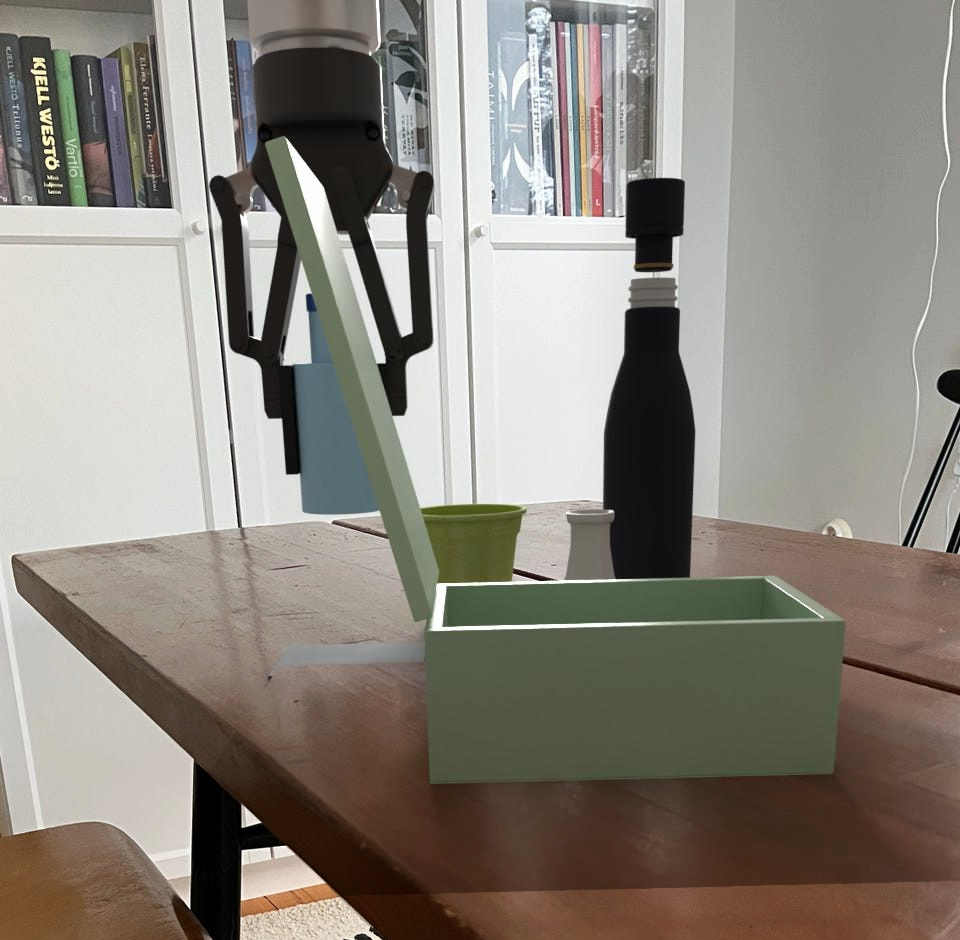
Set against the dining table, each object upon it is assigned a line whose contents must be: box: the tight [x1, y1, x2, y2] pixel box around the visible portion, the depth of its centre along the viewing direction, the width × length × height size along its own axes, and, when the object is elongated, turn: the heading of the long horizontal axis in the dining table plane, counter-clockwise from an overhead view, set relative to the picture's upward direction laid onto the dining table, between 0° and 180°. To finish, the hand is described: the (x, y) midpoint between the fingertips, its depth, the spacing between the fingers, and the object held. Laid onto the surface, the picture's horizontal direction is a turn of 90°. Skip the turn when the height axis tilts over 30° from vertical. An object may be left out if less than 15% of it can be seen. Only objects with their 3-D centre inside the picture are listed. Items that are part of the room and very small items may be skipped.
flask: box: [562, 508, 616, 581], centre depth 82 cm, size 7×7×10 cm
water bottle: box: [291, 292, 380, 516], centre depth 80 cm, size 5×5×13 cm
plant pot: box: [420, 503, 528, 584], centre depth 100 cm, size 9×9×9 cm
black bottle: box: [602, 177, 696, 580], centre depth 88 cm, size 6×6×30 cm
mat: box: [267, 641, 425, 682], centre depth 86 cm, size 10×10×1 cm
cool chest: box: [423, 575, 847, 785], centre depth 63 cm, size 19×14×8 cm
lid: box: [265, 136, 439, 623], centre depth 58 cm, size 19×14×1 cm
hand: (340, 471), depth 82 cm, fingers closed on water bottle, 5 cm apart
